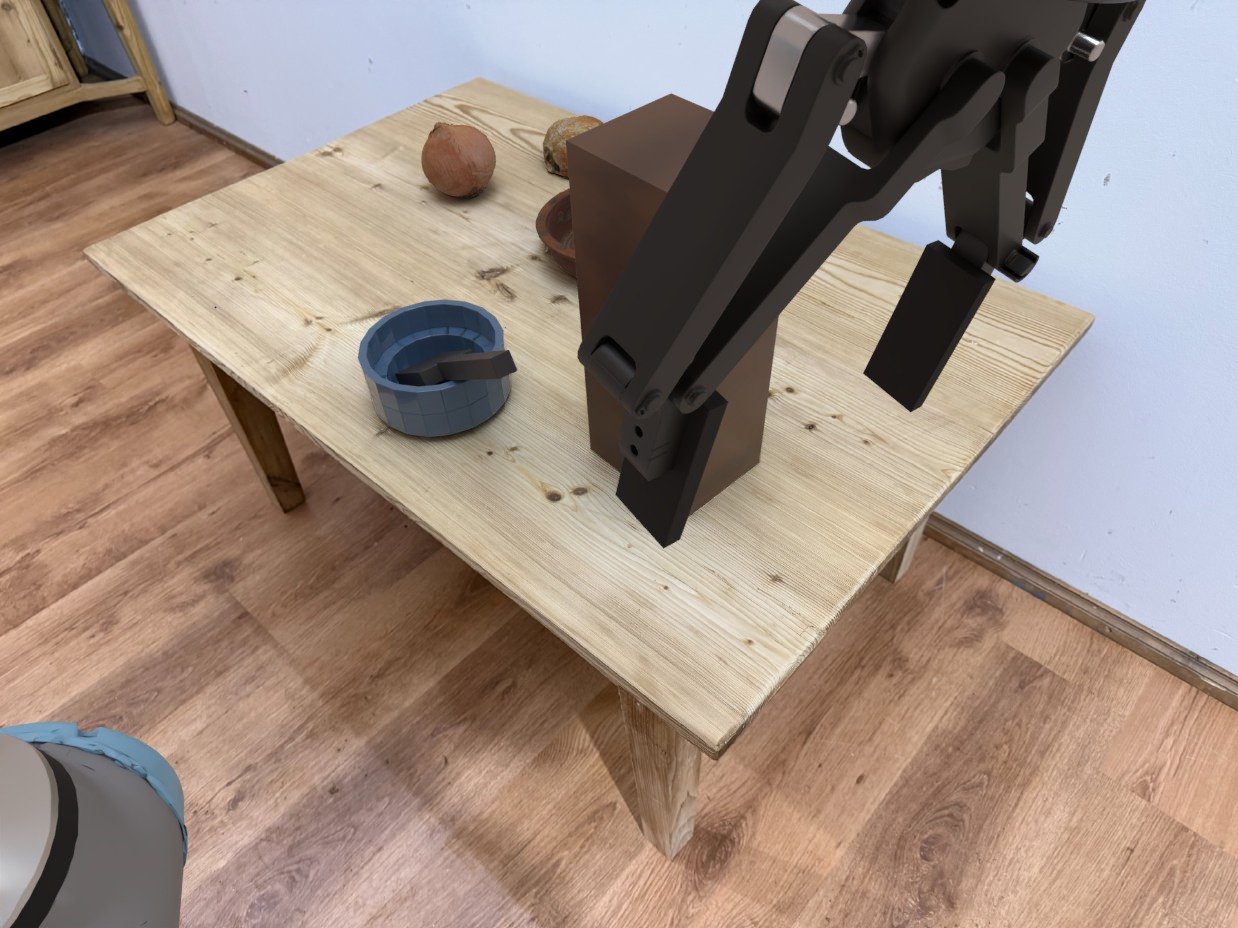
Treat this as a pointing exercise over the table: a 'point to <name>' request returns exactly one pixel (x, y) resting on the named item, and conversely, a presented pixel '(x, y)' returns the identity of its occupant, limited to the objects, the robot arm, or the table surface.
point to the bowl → (418, 339)
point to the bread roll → (564, 141)
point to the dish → (558, 230)
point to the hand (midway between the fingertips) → (781, 447)
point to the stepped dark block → (458, 367)
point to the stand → (605, 240)
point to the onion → (458, 159)
